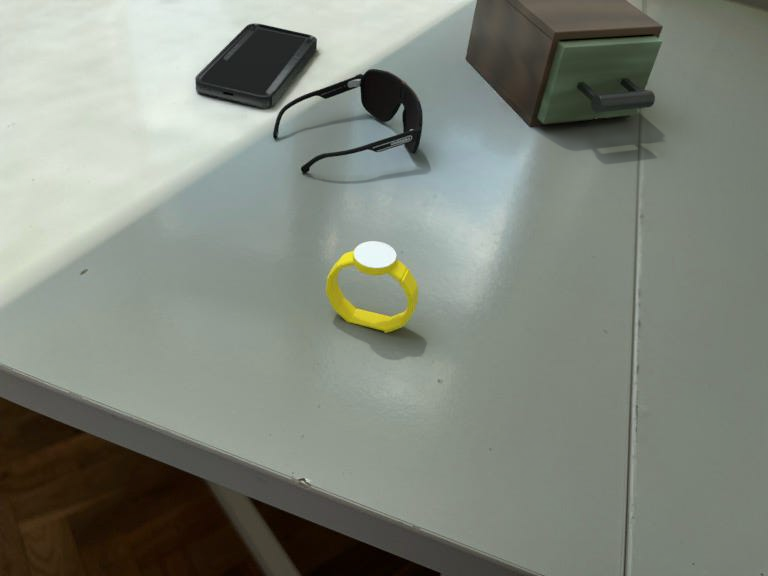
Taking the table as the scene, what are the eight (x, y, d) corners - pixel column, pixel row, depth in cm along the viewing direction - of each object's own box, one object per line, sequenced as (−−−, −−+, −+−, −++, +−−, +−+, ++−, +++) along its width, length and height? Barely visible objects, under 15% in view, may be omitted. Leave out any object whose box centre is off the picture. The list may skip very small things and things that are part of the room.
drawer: (661, 136, 76) (691, 61, 71) (566, 147, 72) (590, 69, 67) (566, 54, 88) (586, -15, 83) (480, 60, 84) (496, -12, 79)
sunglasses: (435, 159, 70) (438, 110, 66) (315, 202, 65) (311, 152, 62) (376, 103, 76) (376, 56, 72) (263, 138, 72) (257, 90, 68)
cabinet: (630, 116, 81) (663, 26, 74) (529, 126, 76) (554, 32, 70) (558, 52, 90) (581, -32, 84) (465, 58, 86) (482, -30, 80)
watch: (415, 321, 54) (429, 254, 50) (404, 348, 52) (417, 280, 48) (333, 296, 55) (340, 229, 51) (319, 322, 53) (325, 253, 49)
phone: (319, 37, 83) (270, 98, 72) (319, 47, 84) (270, 109, 73) (249, 21, 84) (190, 80, 73) (249, 31, 85) (190, 91, 73)
